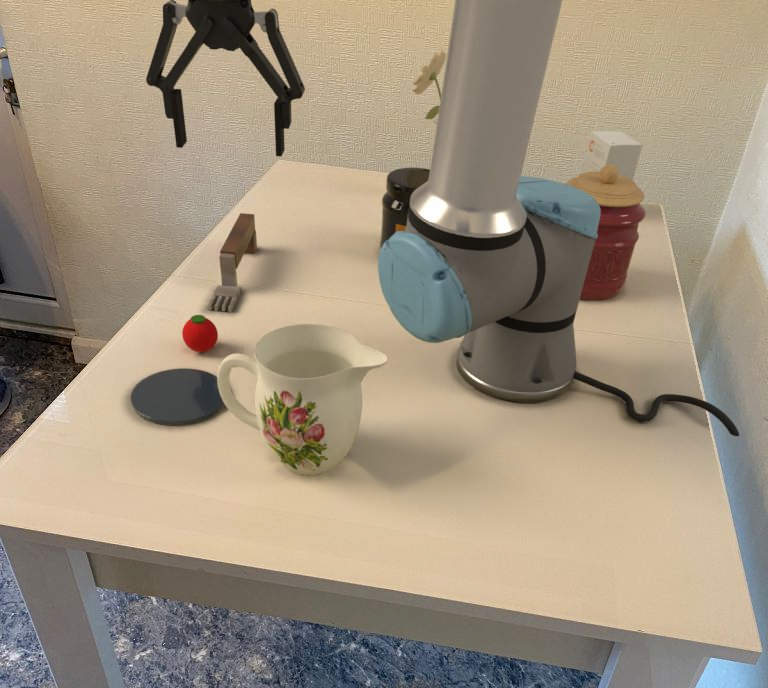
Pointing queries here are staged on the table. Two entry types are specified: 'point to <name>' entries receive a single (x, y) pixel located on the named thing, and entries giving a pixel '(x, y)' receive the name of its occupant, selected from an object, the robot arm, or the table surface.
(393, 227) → the supplement container
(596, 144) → the small box
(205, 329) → the tomato
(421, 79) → the flower in vase
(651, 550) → the table surface
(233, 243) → the fork
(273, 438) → the pitcher
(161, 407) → the plate
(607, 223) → the kitchen canister
